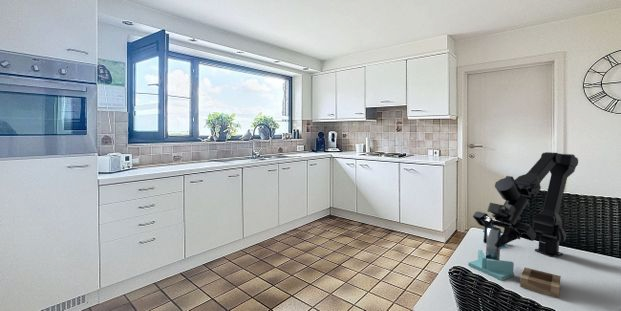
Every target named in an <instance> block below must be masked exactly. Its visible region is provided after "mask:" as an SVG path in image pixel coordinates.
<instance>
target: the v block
mask: <svg viewBox="0 0 621 311" xmlns="http://www.w3.org/2000/svg"><path fill="white" fill-rule="evenodd" d="M467 266H468V267H470V268H473V269H475V270H477V271H479V272H482V273H484V274H486V275H488V276H490V277H493V278H495V279H497V280H499V281H503V280H508V279H510V278H512V277H515V272H514V268H515V264H514V261H509V260H494V259H486V254H485V253H484V252H483V250H481V249H478V252H477V259H476V260H473V261H468V265H467Z"/></svg>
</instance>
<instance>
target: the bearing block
mask: <svg viewBox="0 0 621 311" xmlns="http://www.w3.org/2000/svg"><path fill="white" fill-rule="evenodd" d="M561 278H562V277H561V275H557V274H554V273H553V274H552V273H549V272H546V271H540V270H537V269H533V268H529V267H525V266H524V268H523V271H522V273H521V276H520V282H519V288H522V289H526V290H530V291H533V292H535V293H536V292H538V293H539V294H540V293H541V294H544V295H548V296H550V297H554V298H558V299H559V297H560V289H561V280H562V279H561Z"/></svg>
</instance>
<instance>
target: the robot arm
mask: <svg viewBox="0 0 621 311" xmlns="http://www.w3.org/2000/svg"><path fill="white" fill-rule="evenodd" d="M578 164H579V159H578V157H576V155H575V154H570V153H558V152H548V151H546V152H543V153H541V156H540V158H539V159H538V160H537V161H536V162H535V163H534V164H533V166H532V167H531V168H530V169H529V171H528V172H526V173H524V174H522V175H519V176H518V177H516V178H515V179H514V176H510V175H506V176H505V177H504V178H501V179H498V180H497V181H496V182H495V183H494V188H495V190H496V191H497V192H498V194H499V195H500V197H501V198H502V199H503V200H504V203H503V204H498V203H494V202H489V204H488V207H487V212H488V213H491V216H492V217H493V218H492V217H491V216H489V215H488V213H485V212H482V211H475V212H474V213H473V215H472V218H474V220H475V221H476V223H477V224H478V225H479V226H480V227H483V228H484V227H485V228H484V229H485V232H483V233H484V234H483V243H484V244H486V238H487V227H494V226H495V227H498V228H499V227H500V228H503V231H502V233H501V235H502V236H501V237H500V239H499V240H498V242H497V244H496V247H497V248H499V247H501V246H503V245H505V244H506V245H507V244H509V243H510V242H513V241H516V240H521V236H522V238H523V239H525V240H528V241H531V242H534V241H535V239H536V237H537V236H539V240H538V248H535V249H534V251H535V252H536V253H537V252H538V253H541V254H543V255H546V256H548V257H557V256H563V255H564V253H563V252H560V242H565V241H566V240H567V233H566V231H565V229H564V228H563V220H562V218H561V216H560V209H561V205H562V200H563V197H564V193H565V188H566V185H567V179H568V178H569V177H570V176H571V175H572V174H574V172H575V170H576V168H577V167H578ZM549 173H550V175H551V176H550V177H549V178H550V179H549V181H548V182H549V183H548V185H547V186H548V187H547V192H546V195H545V199H544V204H543V209H542V210H541V211H540V212H536V213H535V214H534V219H533V221H532V225H531V224H528V223H525V222H521V221H520V220H521V219H522V216H521V215H522V213H523V211H524V209H525V208H530V203H529V199H528V198H526V197H530V198H535V197H536V196H537V195H538V194H539V193H540V191H541V189H542V187H541V182H542V181H543V180H544V179H545V177H546V176H547V175H549Z"/></svg>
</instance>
